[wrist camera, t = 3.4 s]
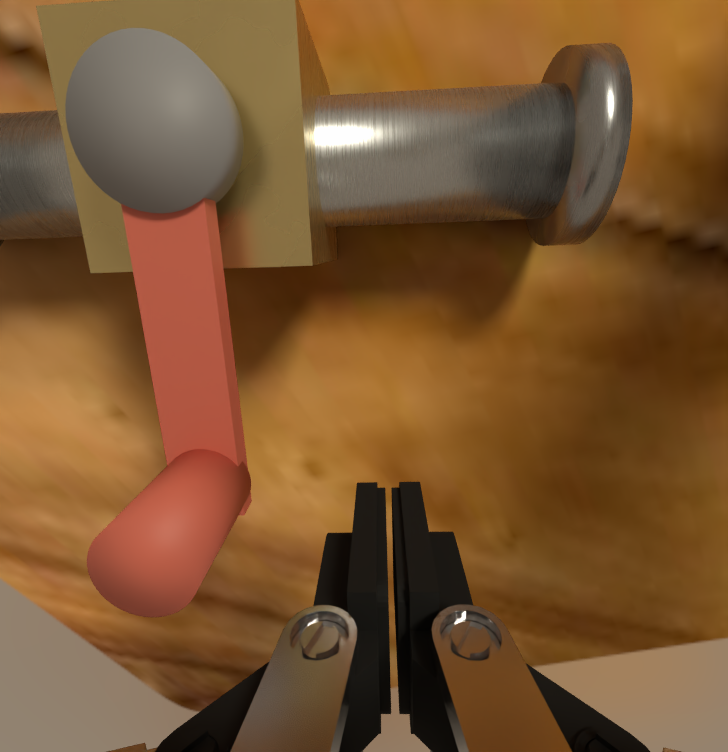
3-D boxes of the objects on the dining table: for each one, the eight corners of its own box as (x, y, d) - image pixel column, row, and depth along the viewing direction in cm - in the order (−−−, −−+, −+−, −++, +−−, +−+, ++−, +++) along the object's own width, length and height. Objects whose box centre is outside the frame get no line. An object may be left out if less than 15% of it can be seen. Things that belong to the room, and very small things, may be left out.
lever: (81, 54, 11) (-118, -72, 7) (234, 45, 11) (131, -92, 7) (165, 506, 15) (71, 616, 11) (280, 505, 15) (234, 618, 10)
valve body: (558, 75, 18) (686, -52, 10) (545, 251, 20) (644, 254, 12) (-41, 109, 19) (-317, 19, 12) (1, 271, 21) (-213, 284, 14)
